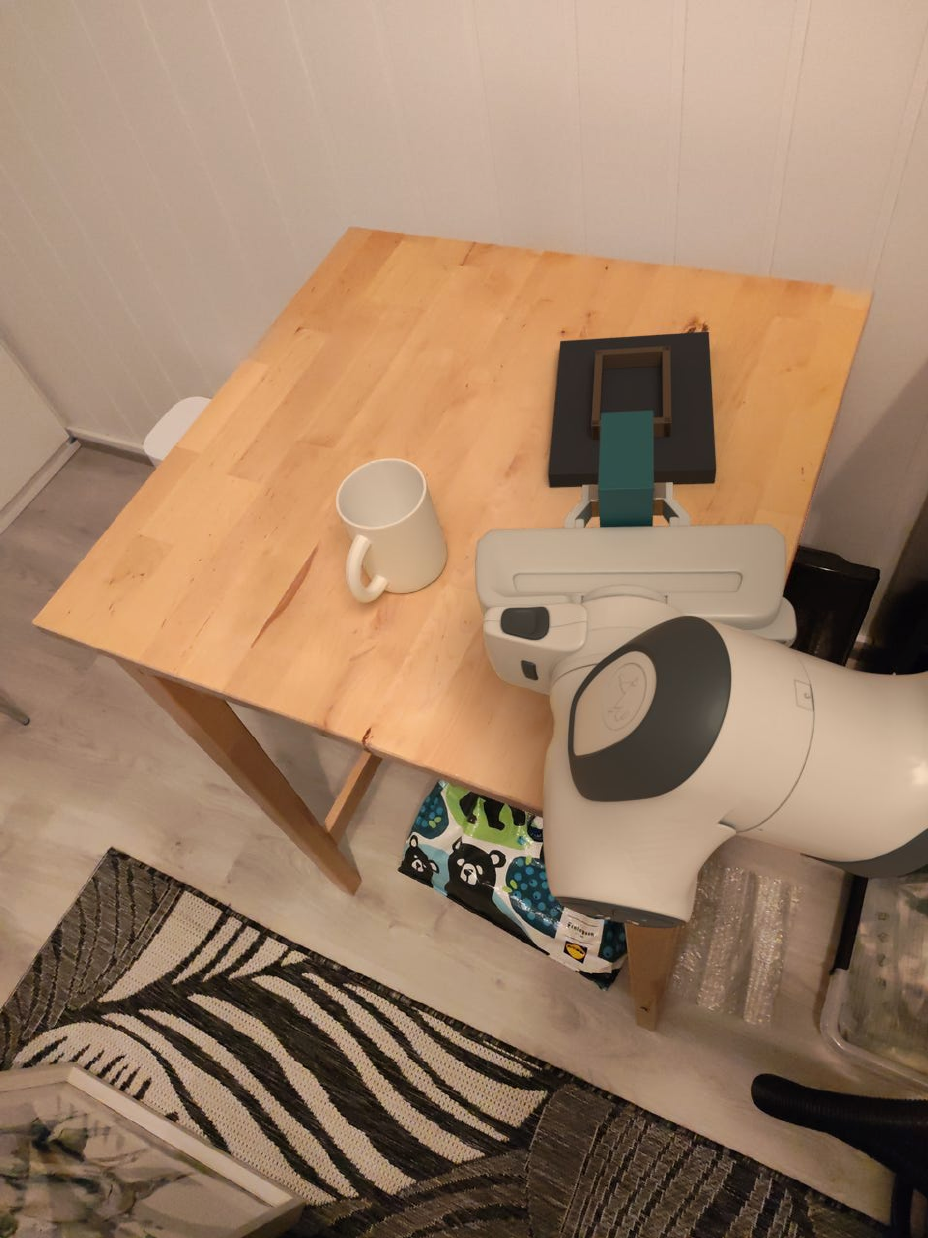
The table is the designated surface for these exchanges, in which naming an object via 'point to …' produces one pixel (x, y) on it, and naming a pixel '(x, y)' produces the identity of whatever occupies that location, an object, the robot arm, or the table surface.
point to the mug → (390, 529)
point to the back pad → (626, 469)
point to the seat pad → (635, 404)
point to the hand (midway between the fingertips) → (626, 489)
